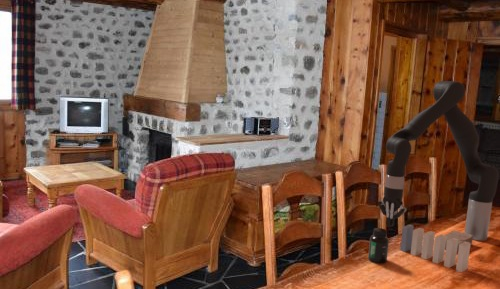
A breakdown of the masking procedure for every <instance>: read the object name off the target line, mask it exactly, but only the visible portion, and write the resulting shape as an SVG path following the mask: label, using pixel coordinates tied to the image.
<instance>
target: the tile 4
mask: <svg viewBox="0 0 500 289" xmlns="http://www.w3.org/2000/svg"><path fill="white" fill-rule="evenodd" d="M445 235H446V234H442V233H441V234H438V235H435V238H434V247H433V255H432V263H434V264H440V263H441V262H444V261H445V253H446V250H445V244H446V236H445Z"/></svg>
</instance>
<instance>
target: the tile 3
mask: <svg viewBox="0 0 500 289" xmlns="http://www.w3.org/2000/svg"><path fill="white" fill-rule="evenodd" d="M435 237H436V232H435V231H432V230H430V231H427V232H424V236H423V244H422V253H421V255H420V257H421V259H423V260H428V259H430V258H433V252H434V244H435Z"/></svg>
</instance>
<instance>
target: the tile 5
mask: <svg viewBox="0 0 500 289" xmlns="http://www.w3.org/2000/svg"><path fill="white" fill-rule="evenodd" d="M457 246H458V239H455V238H452V239H449V240H447V245H446V250H445V252H444V260H443V267H446V268H447V269H448V268H449V269H450V268H451V267H454V266H455V265H456V263H457V255H458V252H457Z"/></svg>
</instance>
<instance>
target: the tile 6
mask: <svg viewBox="0 0 500 289" xmlns="http://www.w3.org/2000/svg"><path fill="white" fill-rule="evenodd" d="M470 244H471V243H468V242H463V243H461V244H459V250H458V252H457V257H456V264H455V265H456V267H455V271H457V272H459V273H462V272H465V271H466V270H468V266H469V257H470V250H471V245H472V244H471V245H470Z"/></svg>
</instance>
